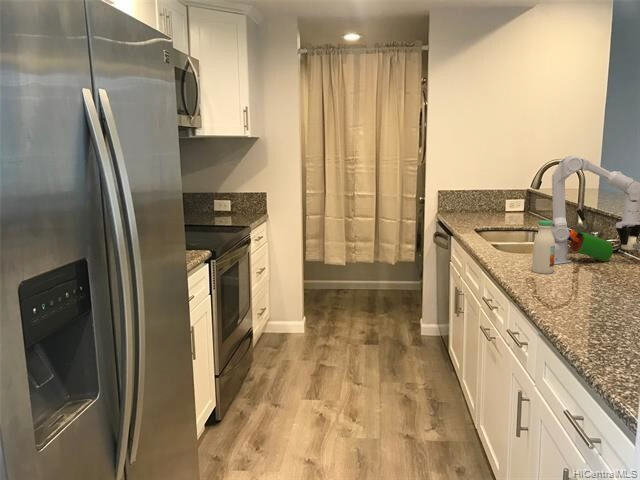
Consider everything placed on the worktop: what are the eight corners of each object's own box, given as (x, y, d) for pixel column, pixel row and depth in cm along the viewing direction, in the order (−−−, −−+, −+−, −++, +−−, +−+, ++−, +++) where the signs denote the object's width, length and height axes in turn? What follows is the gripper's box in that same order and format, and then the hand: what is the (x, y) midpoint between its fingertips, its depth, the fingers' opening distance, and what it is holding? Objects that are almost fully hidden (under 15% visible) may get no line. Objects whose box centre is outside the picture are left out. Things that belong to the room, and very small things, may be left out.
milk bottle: (543, 275, 203) (547, 223, 200) (527, 271, 210) (530, 220, 206) (557, 272, 207) (561, 221, 203) (541, 268, 213) (544, 219, 210)
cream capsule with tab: (634, 251, 213) (635, 238, 212) (618, 248, 219) (619, 236, 218) (642, 250, 215) (643, 237, 214) (626, 247, 221) (627, 235, 220)
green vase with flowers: (589, 255, 233) (554, 243, 226) (600, 237, 230) (565, 223, 224) (606, 264, 223) (570, 251, 217) (617, 245, 221) (581, 231, 215)
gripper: (628, 213, 209) (625, 247, 211) (652, 210, 215) (649, 244, 217) (612, 211, 215) (609, 244, 217) (635, 209, 221) (632, 241, 224)
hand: (628, 244), depth 218 cm, fingers closed on cream capsule with tab, 5 cm apart
